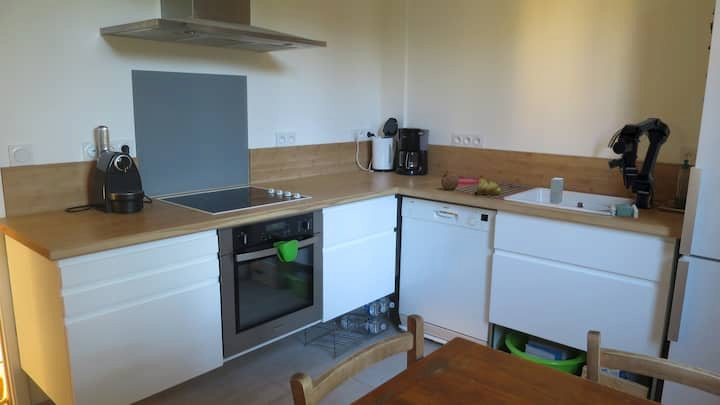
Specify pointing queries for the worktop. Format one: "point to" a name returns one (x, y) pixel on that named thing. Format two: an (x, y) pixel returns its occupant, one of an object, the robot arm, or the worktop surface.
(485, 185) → the green grapes
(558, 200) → the skincare box
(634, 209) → the channel
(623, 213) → the teal block
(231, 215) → the worktop surface
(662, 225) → the worktop surface
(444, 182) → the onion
